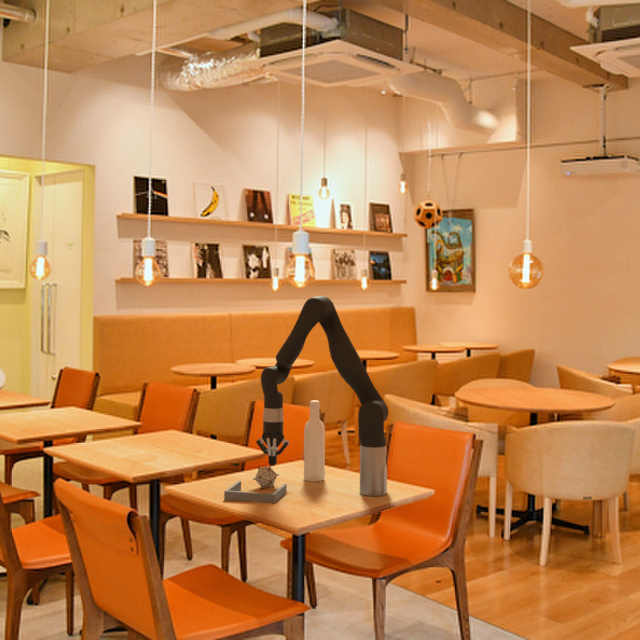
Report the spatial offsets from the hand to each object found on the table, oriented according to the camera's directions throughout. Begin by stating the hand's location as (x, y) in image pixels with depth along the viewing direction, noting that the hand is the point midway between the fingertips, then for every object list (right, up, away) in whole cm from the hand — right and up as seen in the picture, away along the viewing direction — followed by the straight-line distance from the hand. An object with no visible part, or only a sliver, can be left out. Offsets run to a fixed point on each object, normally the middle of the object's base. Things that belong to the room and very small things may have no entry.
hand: (272, 465), depth 314 cm
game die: (-2, -7, -9) cm, 11 cm away
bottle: (+16, -6, +4) cm, 17 cm away
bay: (-5, -7, -21) cm, 22 cm away
